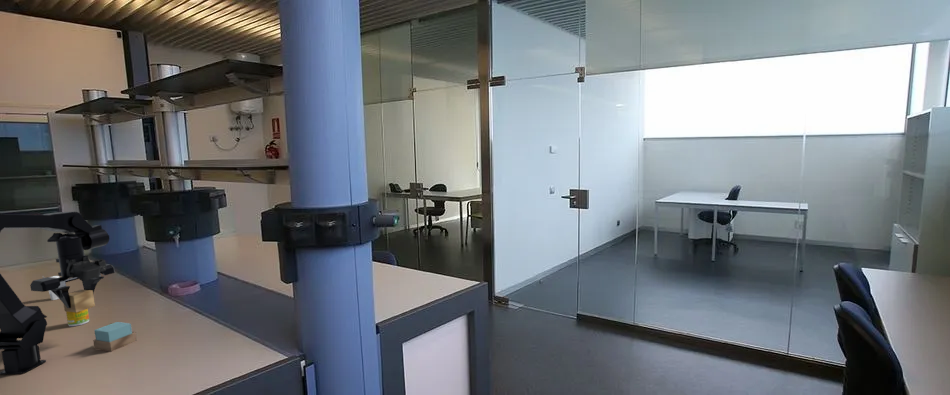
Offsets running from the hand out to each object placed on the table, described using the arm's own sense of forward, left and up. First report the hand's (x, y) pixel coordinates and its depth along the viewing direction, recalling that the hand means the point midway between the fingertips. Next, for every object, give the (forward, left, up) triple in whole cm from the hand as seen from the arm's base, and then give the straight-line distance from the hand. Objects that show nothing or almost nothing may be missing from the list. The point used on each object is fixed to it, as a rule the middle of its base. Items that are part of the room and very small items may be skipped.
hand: (79, 304), depth 134 cm
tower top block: (-5, -13, -9) cm, 16 cm away
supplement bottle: (+15, +14, -11) cm, 23 cm away
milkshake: (+45, +48, -11) cm, 67 cm away
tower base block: (-5, -13, -12) cm, 18 cm away
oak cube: (0, 0, -1) cm, 1 cm away
